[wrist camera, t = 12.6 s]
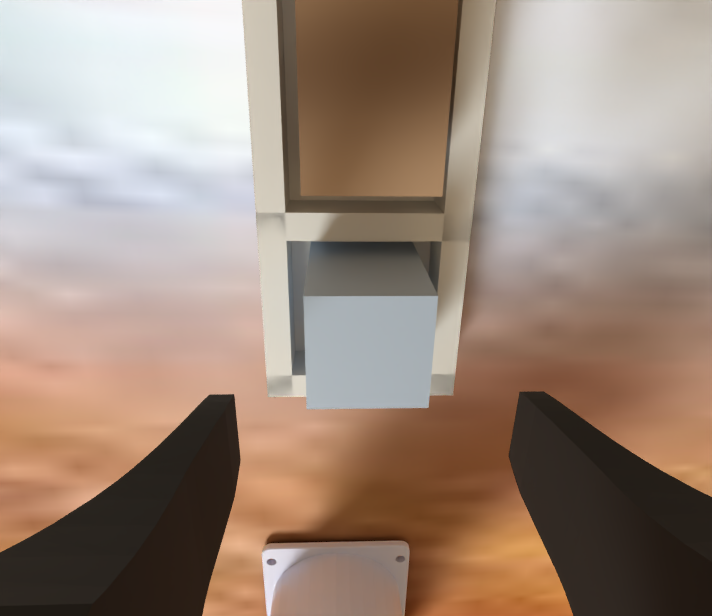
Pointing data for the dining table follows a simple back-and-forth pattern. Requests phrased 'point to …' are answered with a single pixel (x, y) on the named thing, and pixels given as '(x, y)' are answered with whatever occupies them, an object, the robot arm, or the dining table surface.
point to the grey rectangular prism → (368, 326)
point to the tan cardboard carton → (374, 95)
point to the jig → (355, 213)
